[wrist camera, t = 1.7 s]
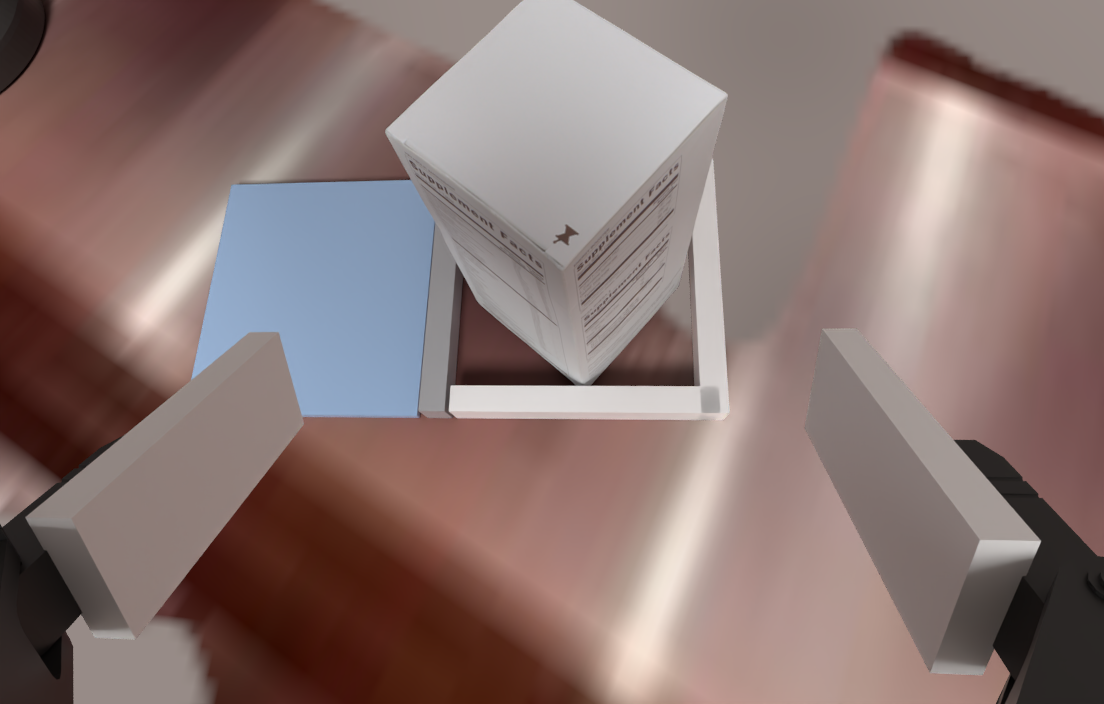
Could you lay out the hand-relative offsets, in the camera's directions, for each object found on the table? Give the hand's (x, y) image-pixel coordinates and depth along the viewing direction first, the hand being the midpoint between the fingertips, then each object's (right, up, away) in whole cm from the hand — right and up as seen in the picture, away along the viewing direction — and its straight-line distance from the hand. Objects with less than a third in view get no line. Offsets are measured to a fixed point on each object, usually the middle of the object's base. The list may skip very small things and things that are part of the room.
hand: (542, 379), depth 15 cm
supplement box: (+2, +4, +23) cm, 24 cm away
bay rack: (-6, +4, +23) cm, 25 cm away
